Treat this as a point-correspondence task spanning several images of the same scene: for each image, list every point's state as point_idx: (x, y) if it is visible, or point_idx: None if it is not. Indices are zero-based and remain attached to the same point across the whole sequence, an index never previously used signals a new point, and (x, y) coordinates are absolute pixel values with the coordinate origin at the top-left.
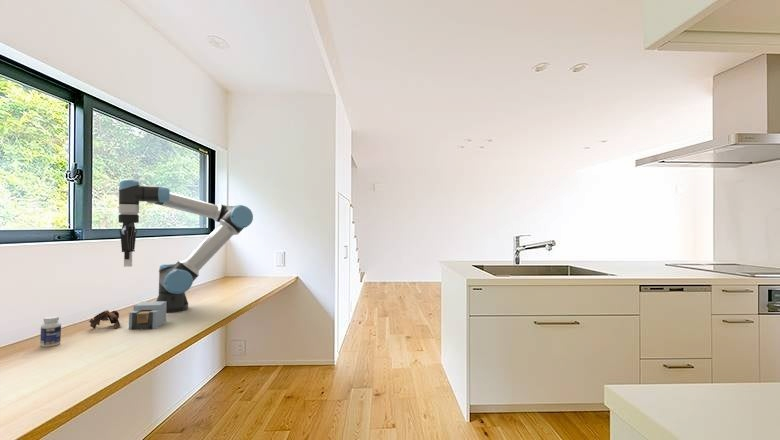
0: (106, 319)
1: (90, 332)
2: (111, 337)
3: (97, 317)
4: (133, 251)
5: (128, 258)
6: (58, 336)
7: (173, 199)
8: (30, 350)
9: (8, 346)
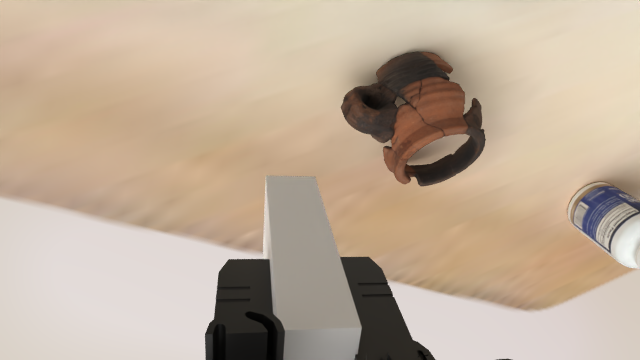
0: (478, 107)
1: None
2: (594, 26)
3: (478, 150)
4: (258, 320)
5: (369, 264)
6: (627, 194)
7: None
8: None
9: (550, 305)
